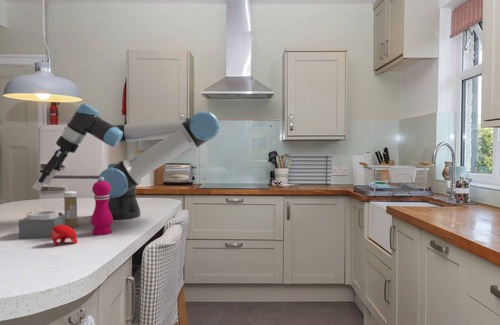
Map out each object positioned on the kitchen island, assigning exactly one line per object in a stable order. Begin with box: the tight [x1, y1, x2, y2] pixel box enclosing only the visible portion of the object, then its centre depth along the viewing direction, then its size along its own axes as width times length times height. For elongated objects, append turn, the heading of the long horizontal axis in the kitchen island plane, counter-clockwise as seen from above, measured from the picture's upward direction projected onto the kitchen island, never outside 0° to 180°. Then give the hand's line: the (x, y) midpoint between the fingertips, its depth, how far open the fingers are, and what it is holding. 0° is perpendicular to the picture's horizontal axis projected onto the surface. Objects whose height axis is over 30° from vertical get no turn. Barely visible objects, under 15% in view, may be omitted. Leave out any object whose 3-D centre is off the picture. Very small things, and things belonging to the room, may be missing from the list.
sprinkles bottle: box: [63, 190, 78, 228], centre depth 138 cm, size 5×5×13 cm
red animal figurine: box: [50, 225, 78, 247], centre depth 113 cm, size 8×6×6 cm
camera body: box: [18, 210, 65, 239], centre depth 125 cm, size 11×10×8 cm
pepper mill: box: [90, 177, 114, 236], centre depth 126 cm, size 7×7×20 cm
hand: (40, 186), depth 140 cm, fingers open, 13 cm apart
